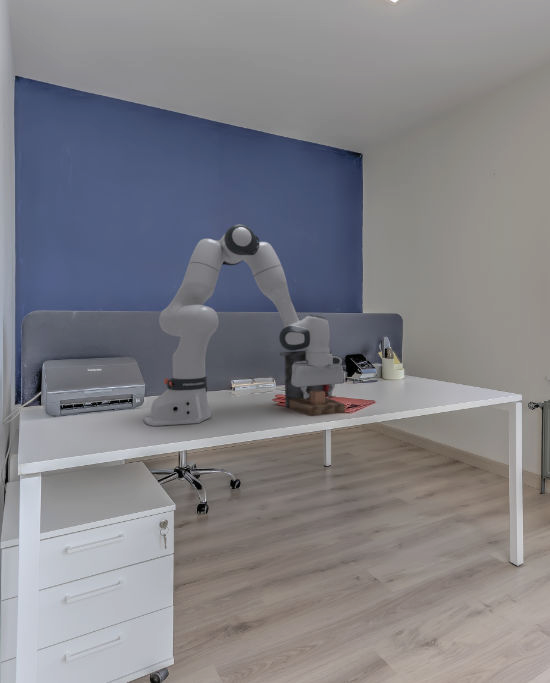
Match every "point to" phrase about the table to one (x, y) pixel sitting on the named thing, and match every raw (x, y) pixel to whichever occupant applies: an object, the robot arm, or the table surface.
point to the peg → (317, 397)
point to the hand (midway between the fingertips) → (317, 397)
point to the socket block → (296, 396)
